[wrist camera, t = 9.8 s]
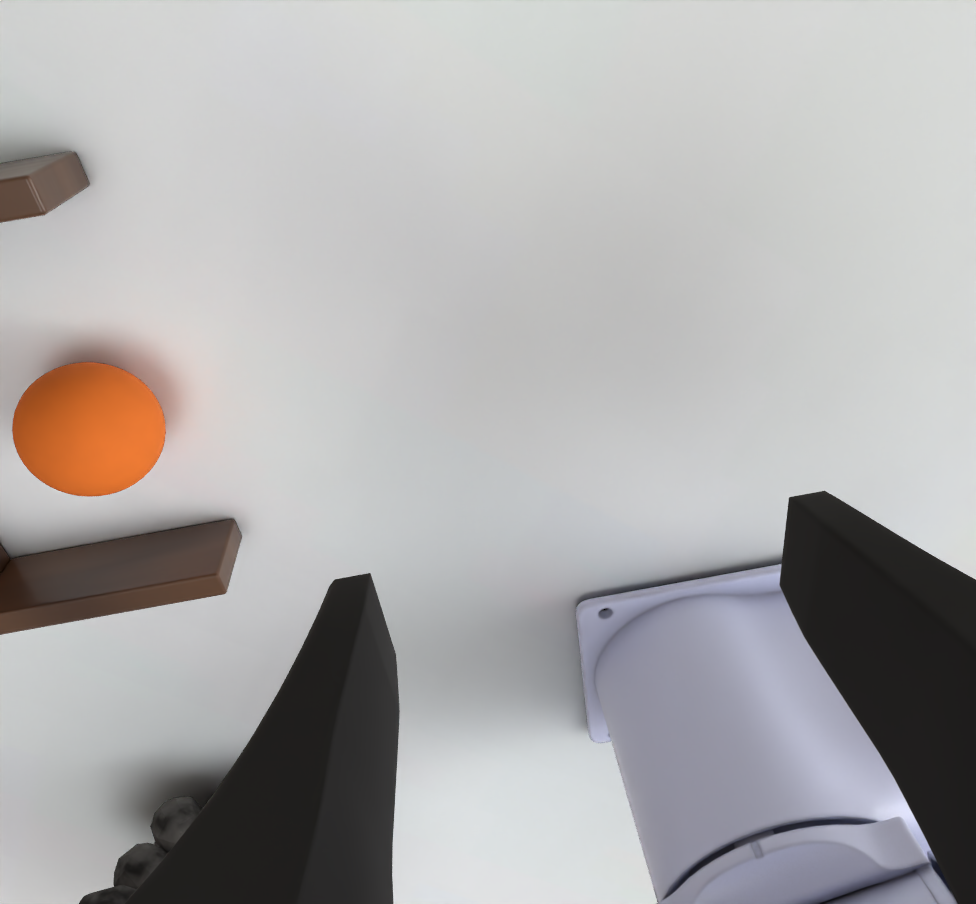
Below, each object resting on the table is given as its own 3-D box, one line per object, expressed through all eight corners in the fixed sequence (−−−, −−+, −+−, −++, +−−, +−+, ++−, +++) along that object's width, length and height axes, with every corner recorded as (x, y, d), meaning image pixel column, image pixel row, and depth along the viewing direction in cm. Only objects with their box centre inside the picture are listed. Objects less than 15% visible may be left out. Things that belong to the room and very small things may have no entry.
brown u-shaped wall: (76, 150, 16) (27, 174, 14) (243, 537, 23) (227, 594, 21) (-266, 208, 16) (-367, 242, 14) (-3, 581, 23) (-45, 643, 21)
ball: (-13, 383, 18) (118, 327, 19) (64, 489, 20) (181, 433, 21) (-28, 424, 16) (126, 357, 17) (63, 543, 17) (197, 475, 18)
